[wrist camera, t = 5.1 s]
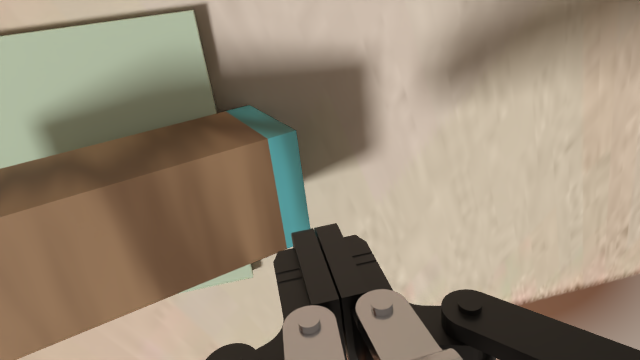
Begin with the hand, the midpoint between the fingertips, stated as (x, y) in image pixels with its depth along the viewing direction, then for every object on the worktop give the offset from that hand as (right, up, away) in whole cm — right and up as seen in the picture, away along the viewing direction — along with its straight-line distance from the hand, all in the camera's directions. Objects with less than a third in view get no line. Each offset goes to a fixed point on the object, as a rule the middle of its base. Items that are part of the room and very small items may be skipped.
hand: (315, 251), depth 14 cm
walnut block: (-2, +3, +6) cm, 7 cm away
